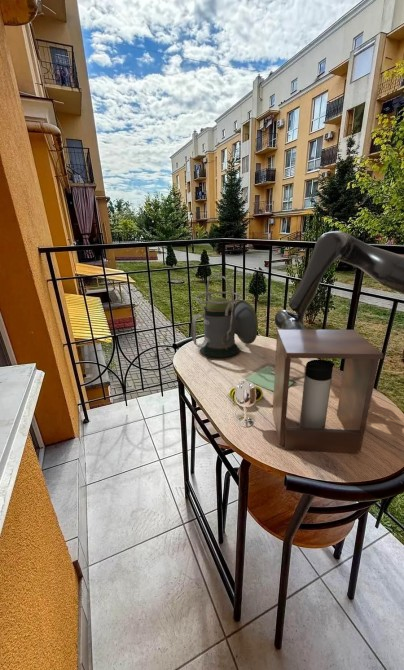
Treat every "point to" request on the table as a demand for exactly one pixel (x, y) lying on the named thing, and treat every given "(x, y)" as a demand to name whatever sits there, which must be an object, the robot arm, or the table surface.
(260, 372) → the green square mat
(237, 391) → the wineglass
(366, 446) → the table surface
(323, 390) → the travel mug
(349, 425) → the cabinet
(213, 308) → the lantern
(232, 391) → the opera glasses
